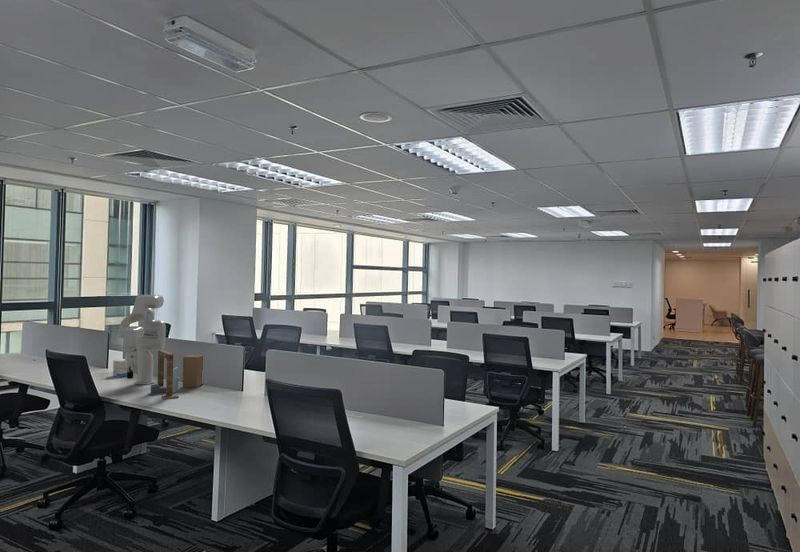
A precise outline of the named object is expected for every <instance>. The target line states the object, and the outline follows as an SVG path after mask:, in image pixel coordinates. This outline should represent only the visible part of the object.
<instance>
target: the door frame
mask: <svg viewBox="0 0 800 552" xmlns="http://www.w3.org/2000/svg"><path fill="white" fill-rule="evenodd" d="M165 359H166V383H165V384H166V385H165V387H166V394H163V395H161V398H162V399H163V400H172V398H173V399H179V398H180V397H179V395H177V394H176V393H173V369H174V354H173V352H169V351H167V350H164V349H163V350H157V384H158V385H159V387H160V386H164V382H165V381H164V380H165V378H164V377H165ZM172 393H173V394H172Z"/></svg>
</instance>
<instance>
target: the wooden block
mask: <svg viewBox="0 0 800 552" xmlns="http://www.w3.org/2000/svg"><path fill="white" fill-rule="evenodd" d="M203 355H204V354H188V355H184V356H182V388H199V387H201V386H202V385H201V384H202V370H203ZM200 385H201V386H200Z"/></svg>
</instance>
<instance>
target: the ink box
mask: <svg viewBox="0 0 800 552" xmlns="http://www.w3.org/2000/svg"><path fill="white" fill-rule="evenodd" d="M112 364H113V365H112V366H113V367H112V369H113V370H112V376H113V377H115V376H116V378H124V377H123V376H125V377H127V367H126V366H125V358H120V359H113V361H112Z"/></svg>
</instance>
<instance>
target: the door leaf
mask: <svg viewBox="0 0 800 552" xmlns="http://www.w3.org/2000/svg"><path fill="white" fill-rule="evenodd" d="M179 380H180V377H179V367H178V366H176V367H173V393H172V395H173V394H175V393H176V392H177V391H178V390H179Z"/></svg>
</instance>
